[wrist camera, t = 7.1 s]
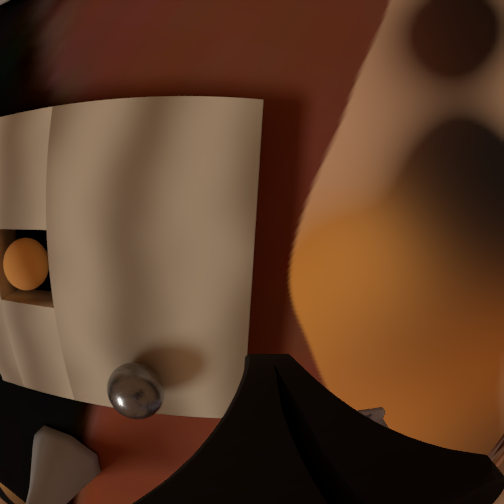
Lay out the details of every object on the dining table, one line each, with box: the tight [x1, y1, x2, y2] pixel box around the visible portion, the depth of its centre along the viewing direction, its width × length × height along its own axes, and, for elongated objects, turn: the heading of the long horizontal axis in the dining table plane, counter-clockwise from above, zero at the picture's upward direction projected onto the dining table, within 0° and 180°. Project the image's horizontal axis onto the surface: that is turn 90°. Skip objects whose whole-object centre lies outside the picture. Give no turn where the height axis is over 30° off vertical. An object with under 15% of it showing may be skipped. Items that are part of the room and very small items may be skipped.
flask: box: [26, 425, 101, 504], centre depth 16 cm, size 7×7×10 cm
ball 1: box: [3, 238, 49, 290], centre depth 15 cm, size 3×3×3 cm
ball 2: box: [107, 362, 165, 419], centre depth 15 cm, size 3×3×3 cm
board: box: [0, 96, 263, 418], centre depth 16 cm, size 18×18×2 cm
